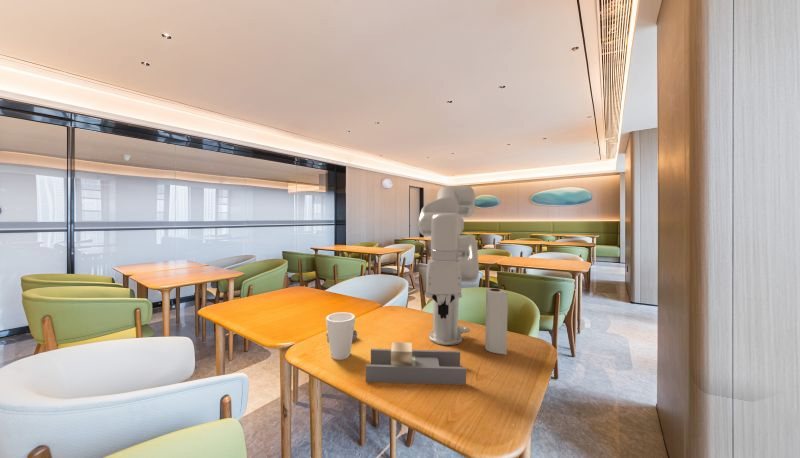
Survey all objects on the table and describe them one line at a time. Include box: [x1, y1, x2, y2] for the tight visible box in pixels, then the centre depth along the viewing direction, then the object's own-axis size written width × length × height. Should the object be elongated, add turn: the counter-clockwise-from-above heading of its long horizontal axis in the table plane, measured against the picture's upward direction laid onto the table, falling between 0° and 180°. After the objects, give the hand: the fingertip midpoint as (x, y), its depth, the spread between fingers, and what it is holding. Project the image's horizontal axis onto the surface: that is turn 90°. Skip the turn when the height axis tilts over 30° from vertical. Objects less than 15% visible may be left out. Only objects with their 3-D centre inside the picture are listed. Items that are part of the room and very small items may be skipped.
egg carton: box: [325, 329, 359, 344], centre depth 110 cm, size 11×8×4 cm
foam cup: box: [325, 311, 356, 360], centre depth 98 cm, size 10×9×13 cm
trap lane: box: [365, 348, 467, 386], centre depth 87 cm, size 28×11×4 cm, turn 88°
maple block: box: [390, 342, 413, 366], centre depth 87 cm, size 6×6×5 cm
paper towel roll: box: [484, 287, 509, 356], centre depth 102 cm, size 7×6×21 cm
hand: (443, 316), depth 87 cm, fingers closed
